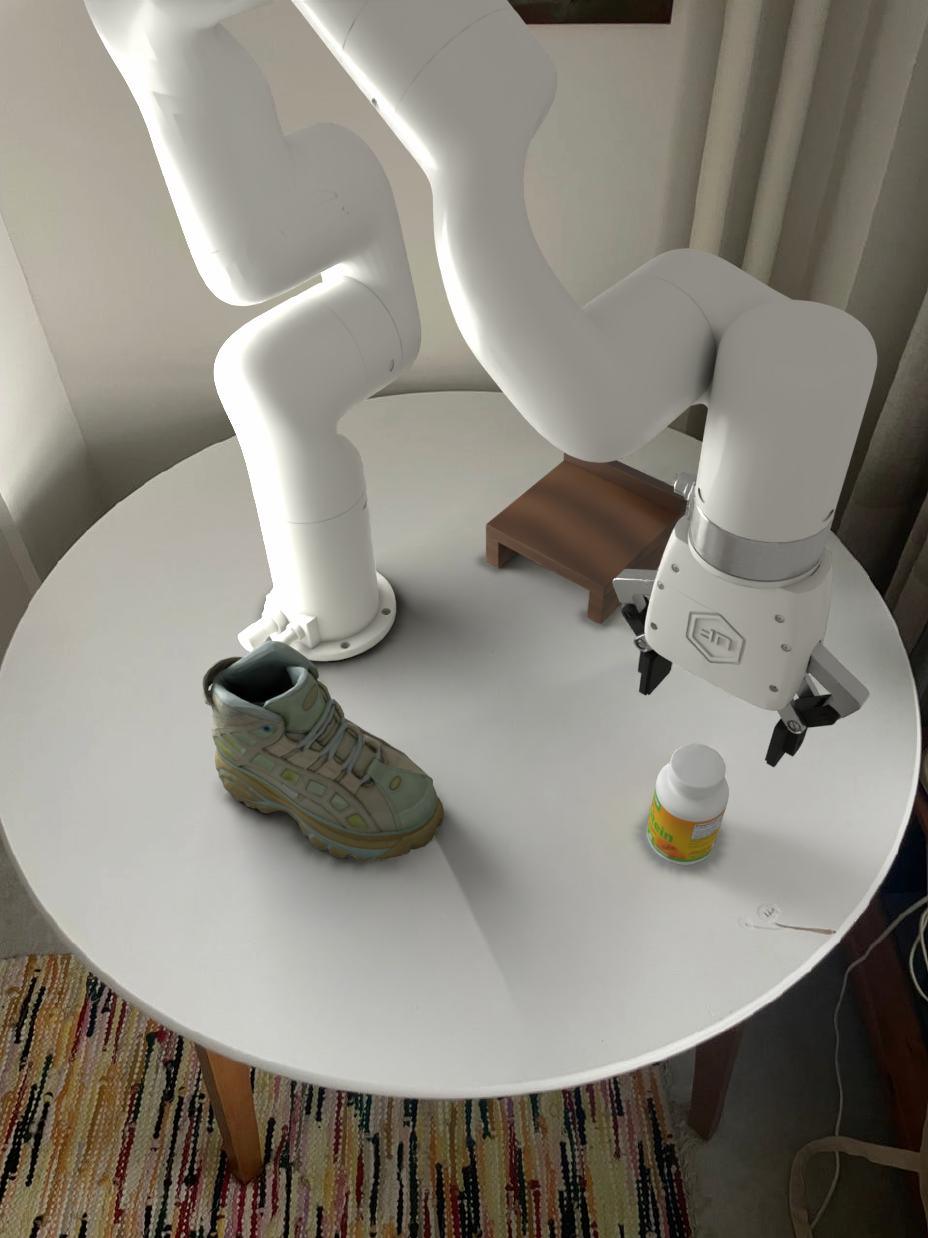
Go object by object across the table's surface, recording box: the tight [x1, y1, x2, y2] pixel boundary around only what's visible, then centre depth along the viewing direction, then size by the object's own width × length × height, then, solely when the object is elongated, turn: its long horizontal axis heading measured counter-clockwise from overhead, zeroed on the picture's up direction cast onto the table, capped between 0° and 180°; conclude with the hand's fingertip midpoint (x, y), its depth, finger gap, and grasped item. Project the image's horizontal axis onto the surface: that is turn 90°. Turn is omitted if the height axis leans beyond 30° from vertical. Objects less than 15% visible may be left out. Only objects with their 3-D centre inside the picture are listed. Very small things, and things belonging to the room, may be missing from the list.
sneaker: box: [201, 639, 445, 862], centre depth 79 cm, size 11×19×15 cm, turn 53°
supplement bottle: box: [646, 742, 730, 866], centre depth 78 cm, size 5×5×10 cm
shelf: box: [485, 452, 688, 625], centre depth 101 cm, size 14×14×7 cm
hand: (715, 715), depth 70 cm, fingers open, 9 cm apart
